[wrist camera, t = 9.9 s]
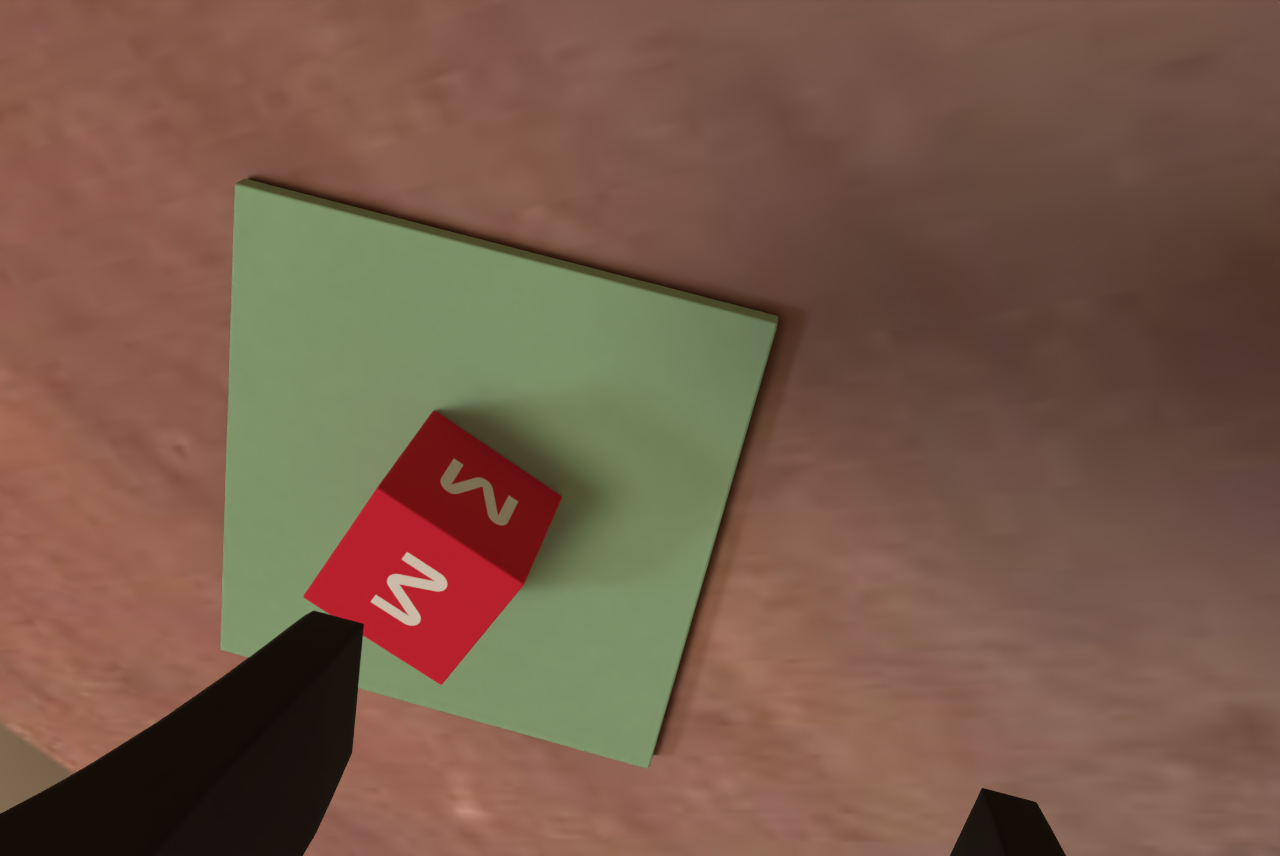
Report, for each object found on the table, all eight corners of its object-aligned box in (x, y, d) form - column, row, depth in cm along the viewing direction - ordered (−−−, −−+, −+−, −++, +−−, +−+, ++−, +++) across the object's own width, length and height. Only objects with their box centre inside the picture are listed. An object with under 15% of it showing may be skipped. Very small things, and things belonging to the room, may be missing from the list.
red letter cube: (486, 591, 24) (441, 686, 21) (364, 511, 23) (301, 597, 21) (563, 496, 22) (524, 584, 20) (434, 408, 22) (376, 487, 19)
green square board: (651, 757, 26) (649, 770, 25) (227, 639, 26) (219, 650, 26) (779, 315, 20) (778, 324, 20) (244, 177, 21) (233, 183, 20)
